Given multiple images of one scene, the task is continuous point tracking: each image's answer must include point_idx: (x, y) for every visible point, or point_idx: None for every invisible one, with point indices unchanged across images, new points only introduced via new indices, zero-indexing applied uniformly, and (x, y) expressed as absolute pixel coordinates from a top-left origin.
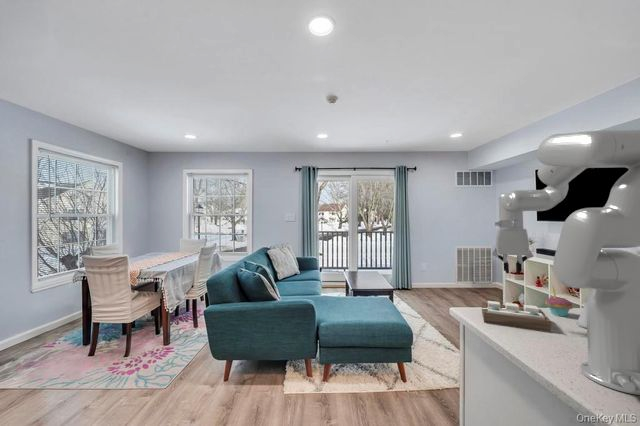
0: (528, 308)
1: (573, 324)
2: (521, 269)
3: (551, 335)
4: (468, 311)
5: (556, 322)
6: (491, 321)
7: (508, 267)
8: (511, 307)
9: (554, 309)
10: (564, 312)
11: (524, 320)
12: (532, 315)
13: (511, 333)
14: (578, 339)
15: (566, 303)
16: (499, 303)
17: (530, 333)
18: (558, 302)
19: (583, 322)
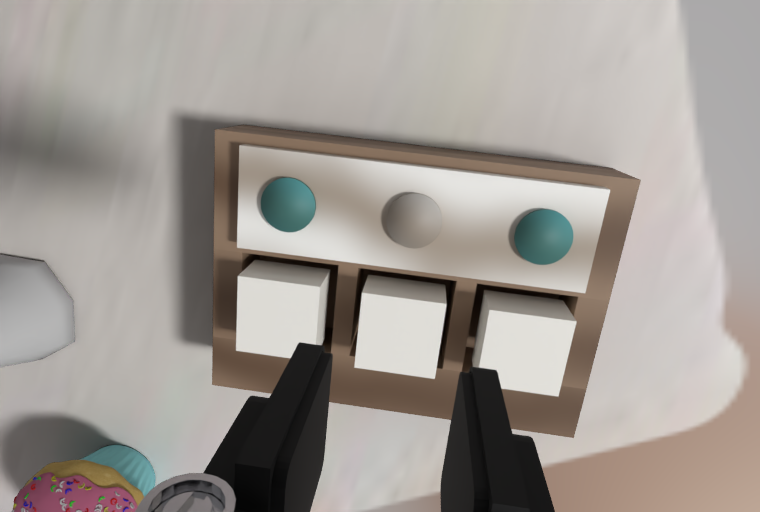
0: (302, 281)
1: (93, 324)
2: (242, 414)
3: (255, 70)
4: (648, 385)
5: (168, 330)
6: (569, 165)
7: (474, 431)
8: (412, 295)
9: (128, 473)
10: (89, 456)
11: (370, 145)
12: (309, 165)
13: (488, 6)
14: (130, 57)
15: (38, 491)
16: (487, 340)
17: (366, 58)
18: (78, 496)
19: (36, 296)
